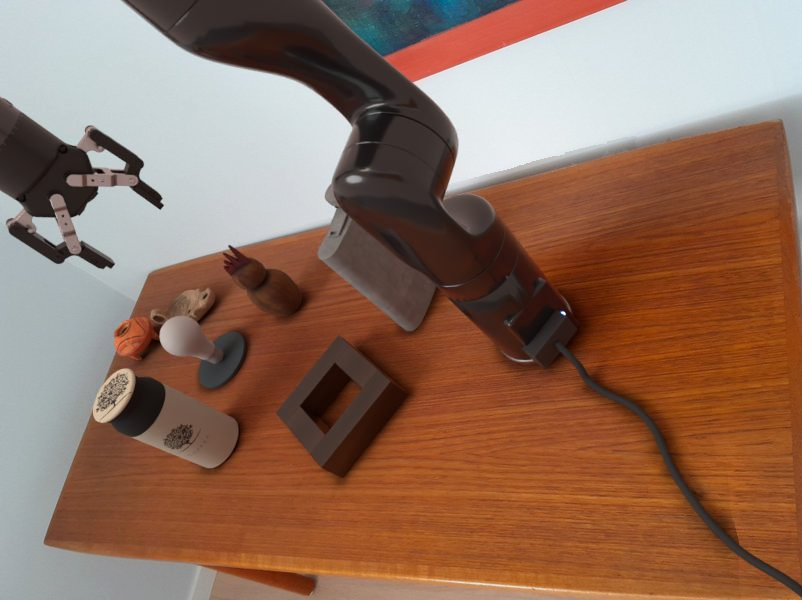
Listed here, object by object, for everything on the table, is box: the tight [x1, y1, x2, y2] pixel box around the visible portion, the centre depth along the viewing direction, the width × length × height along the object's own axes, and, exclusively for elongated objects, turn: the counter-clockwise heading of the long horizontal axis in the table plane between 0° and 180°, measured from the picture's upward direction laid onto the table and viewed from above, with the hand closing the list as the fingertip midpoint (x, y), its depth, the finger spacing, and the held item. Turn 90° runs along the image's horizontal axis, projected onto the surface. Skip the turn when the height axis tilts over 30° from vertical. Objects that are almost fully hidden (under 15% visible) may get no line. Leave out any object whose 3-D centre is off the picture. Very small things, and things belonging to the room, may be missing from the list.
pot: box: [113, 316, 160, 361], centre depth 119 cm, size 8×8×7 cm
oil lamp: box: [150, 287, 216, 325], centre depth 116 cm, size 13×8×5 cm, turn 92°
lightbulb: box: [159, 316, 224, 364], centre depth 102 cm, size 6×6×11 cm
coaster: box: [198, 331, 248, 390], centre depth 107 cm, size 10×10×1 cm
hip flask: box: [317, 183, 437, 332], centre depth 83 cm, size 16×4×20 cm, turn 164°
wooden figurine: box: [222, 244, 303, 317], centre depth 99 cm, size 7×6×15 cm
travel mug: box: [92, 367, 239, 469], centre depth 91 cm, size 8×8×18 cm
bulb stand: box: [275, 334, 410, 479], centre depth 85 cm, size 13×13×4 cm
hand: (136, 234), depth 75 cm, fingers open, 8 cm apart
